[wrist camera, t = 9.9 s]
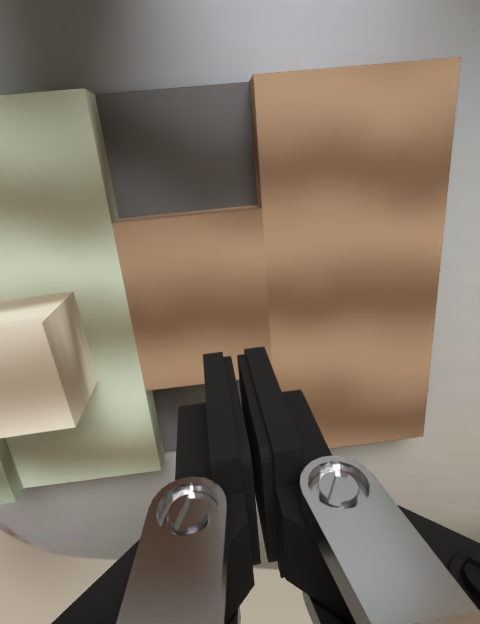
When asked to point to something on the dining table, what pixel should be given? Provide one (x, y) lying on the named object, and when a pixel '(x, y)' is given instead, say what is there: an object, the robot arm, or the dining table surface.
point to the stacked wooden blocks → (231, 249)
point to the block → (43, 365)
